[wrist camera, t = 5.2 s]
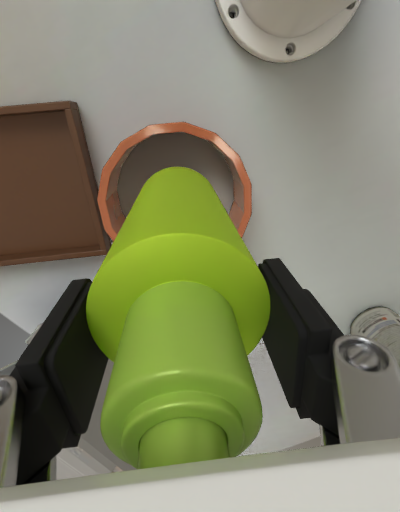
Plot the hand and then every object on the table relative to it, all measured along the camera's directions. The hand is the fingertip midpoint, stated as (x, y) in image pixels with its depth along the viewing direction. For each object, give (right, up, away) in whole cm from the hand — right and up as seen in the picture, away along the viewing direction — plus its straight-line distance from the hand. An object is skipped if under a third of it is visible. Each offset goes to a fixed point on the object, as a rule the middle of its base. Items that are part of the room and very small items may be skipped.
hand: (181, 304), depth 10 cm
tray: (-19, +8, +17) cm, 27 cm away
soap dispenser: (-1, +5, +11) cm, 12 cm away
